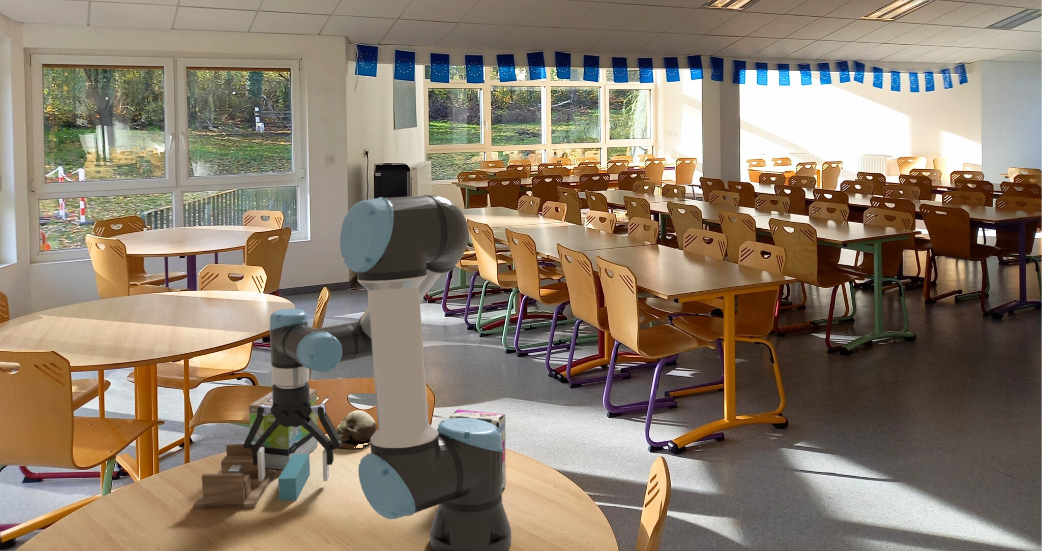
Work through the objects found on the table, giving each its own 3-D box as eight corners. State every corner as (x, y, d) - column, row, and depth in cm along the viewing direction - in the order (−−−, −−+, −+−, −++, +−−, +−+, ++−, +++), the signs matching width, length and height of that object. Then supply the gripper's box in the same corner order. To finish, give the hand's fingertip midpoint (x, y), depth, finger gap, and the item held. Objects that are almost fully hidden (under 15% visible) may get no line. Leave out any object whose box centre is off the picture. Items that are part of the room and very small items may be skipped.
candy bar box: (506, 486, 184) (506, 413, 181) (498, 495, 179) (499, 421, 176) (457, 479, 187) (457, 407, 184) (449, 488, 182) (448, 415, 180)
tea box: (290, 471, 191) (288, 407, 188) (249, 467, 193) (246, 404, 190) (319, 446, 206) (317, 387, 203) (280, 443, 208) (278, 384, 205)
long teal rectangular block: (296, 501, 176) (295, 478, 176) (279, 501, 176) (278, 478, 176) (310, 475, 189) (309, 454, 188) (294, 475, 189) (293, 454, 188)
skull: (319, 443, 205) (331, 404, 210) (336, 459, 213) (348, 421, 218) (364, 448, 201) (375, 407, 206) (380, 463, 209) (391, 424, 215)
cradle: (254, 508, 173) (252, 475, 171) (193, 508, 172) (191, 475, 171) (275, 473, 189) (273, 443, 188) (220, 474, 189) (218, 444, 188)
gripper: (353, 377, 183) (355, 471, 187) (235, 377, 182) (240, 471, 186) (347, 389, 175) (350, 486, 179) (224, 388, 175) (229, 486, 179)
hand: (294, 478), depth 183 cm, fingers open, 13 cm apart
